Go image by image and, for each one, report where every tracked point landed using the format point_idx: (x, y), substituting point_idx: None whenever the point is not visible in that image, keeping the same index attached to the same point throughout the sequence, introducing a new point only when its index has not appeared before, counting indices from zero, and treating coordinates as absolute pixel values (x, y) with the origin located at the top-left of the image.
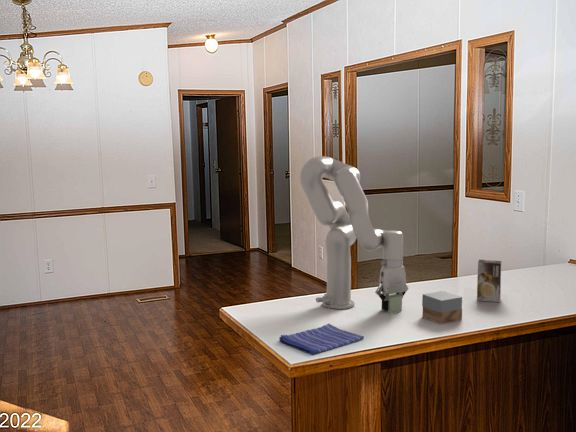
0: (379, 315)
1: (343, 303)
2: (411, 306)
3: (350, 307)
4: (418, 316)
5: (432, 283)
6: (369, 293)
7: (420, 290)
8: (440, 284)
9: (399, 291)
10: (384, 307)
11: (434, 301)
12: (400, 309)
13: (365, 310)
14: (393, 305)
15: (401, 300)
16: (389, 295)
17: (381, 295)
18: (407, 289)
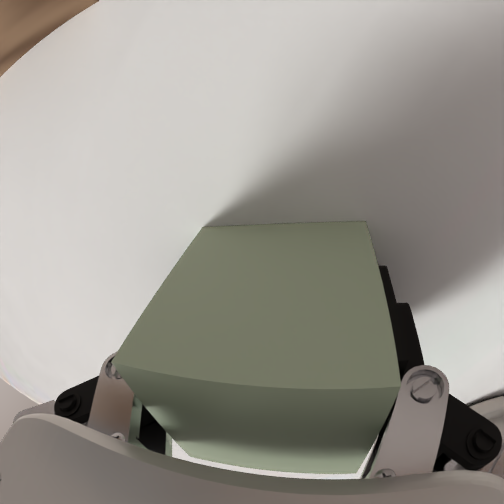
0: (498, 214)
1: (500, 425)
2: (90, 297)
3: (479, 403)
4: (122, 14)
5: (35, 396)
6: (231, 465)
7: (55, 393)
8: (19, 382)
9: (120, 467)
10: (408, 308)
11: None
12: (211, 239)
13: (461, 359)
14: (320, 276)
15: (151, 312)
16: (291, 451)
17: (496, 445)
18: (27, 412)
